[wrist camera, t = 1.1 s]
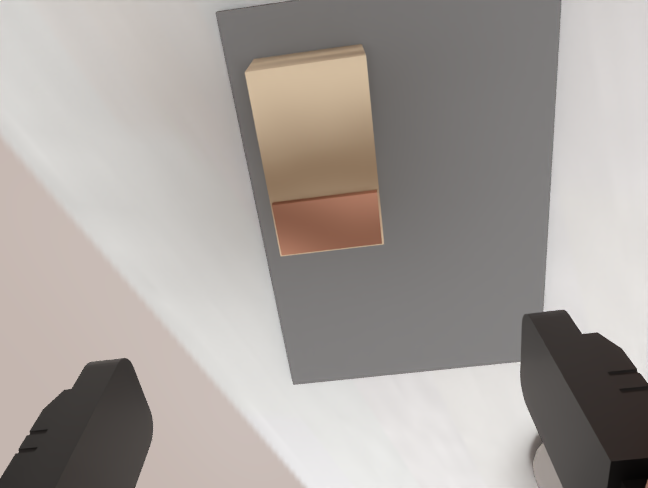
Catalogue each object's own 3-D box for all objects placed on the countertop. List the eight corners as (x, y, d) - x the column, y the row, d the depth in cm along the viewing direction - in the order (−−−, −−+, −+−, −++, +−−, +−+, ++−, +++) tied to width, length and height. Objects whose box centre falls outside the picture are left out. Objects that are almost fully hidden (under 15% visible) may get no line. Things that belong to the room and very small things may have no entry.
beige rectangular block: (253, 58, 23) (243, 73, 21) (361, 43, 23) (366, 56, 20) (285, 226, 27) (280, 259, 24) (378, 215, 27) (384, 247, 24)
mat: (217, 11, 23) (215, 12, 23) (558, -39, 22) (563, -39, 22) (293, 378, 32) (293, 384, 32) (537, 353, 31) (540, 359, 31)
